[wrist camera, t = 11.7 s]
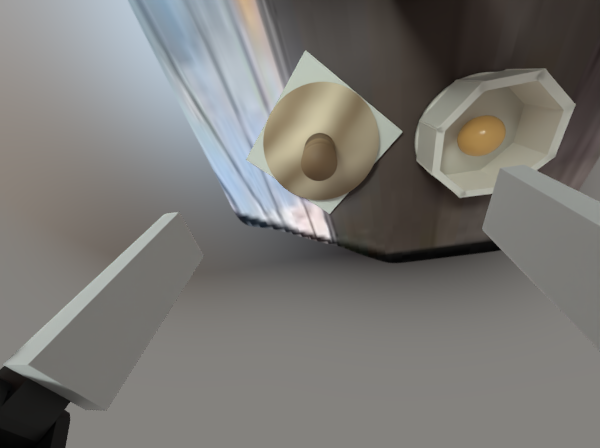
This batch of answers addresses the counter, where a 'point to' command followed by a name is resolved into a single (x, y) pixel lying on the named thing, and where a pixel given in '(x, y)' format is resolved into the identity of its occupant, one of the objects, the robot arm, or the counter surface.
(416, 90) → the counter surface
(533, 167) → the bowl
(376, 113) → the mat
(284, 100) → the lid
